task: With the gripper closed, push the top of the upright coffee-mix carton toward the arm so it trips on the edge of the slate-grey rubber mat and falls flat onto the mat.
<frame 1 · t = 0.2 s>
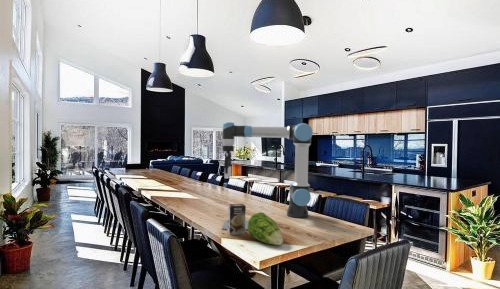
hand: (227, 177, 201), 28 cm above the table, fingers open, 13 cm apart
coffee box: (236, 233, 171), on the table
lettuce: (266, 241, 158), on the table
mat: (238, 225, 185), on the table
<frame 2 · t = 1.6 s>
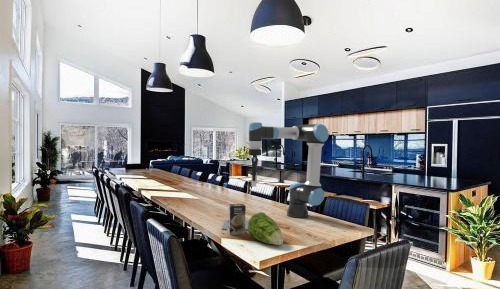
hand: (254, 184, 177), 27 cm above the table, fingers open, 13 cm apart
nothing on the table moved.
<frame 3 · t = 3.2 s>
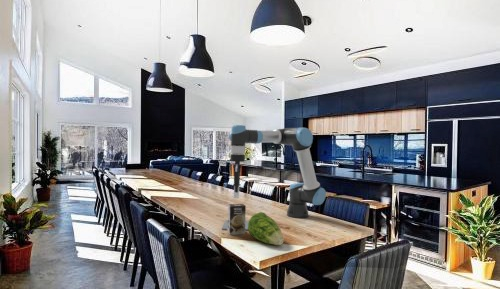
hand: (236, 197, 161), 22 cm above the table, fingers closed
nothing on the table moved.
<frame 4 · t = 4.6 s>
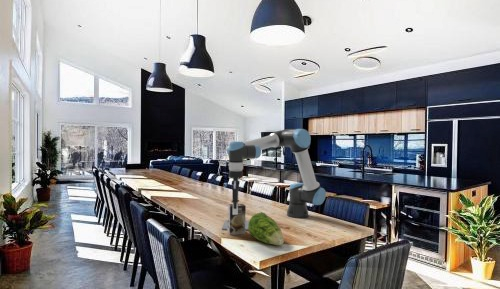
hand: (235, 214, 160), 13 cm above the table, fingers closed
nothing on the table moved.
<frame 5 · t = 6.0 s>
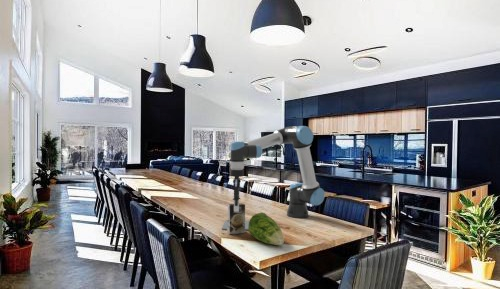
hand: (236, 211, 168), 13 cm above the table, fingers closed
coffee box: (236, 232, 171), on the table, touching gripper
everything else where it was.
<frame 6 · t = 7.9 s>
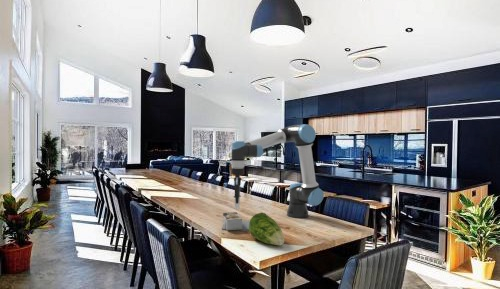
hand: (237, 208, 174), 13 cm above the table, fingers closed
coffee box: (235, 224, 174), point 4 cm above the table, touching mat
everything else where it was.
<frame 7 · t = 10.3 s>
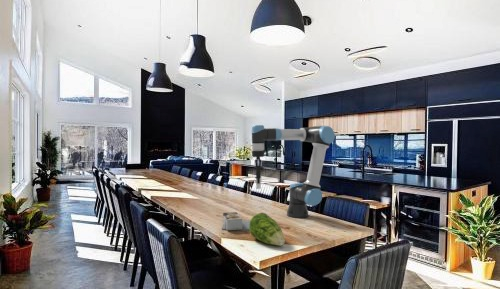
hand: (258, 188, 185), 23 cm above the table, fingers closed
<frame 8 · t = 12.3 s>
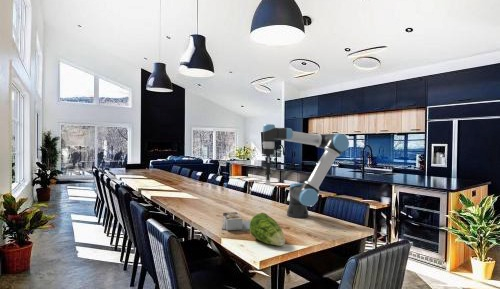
hand: (267, 184, 194), 24 cm above the table, fingers closed
at the end: coffee box tilted 90°; coffee box inside the target area (10.0 cm from its centre), point 4.0 cm above the table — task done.
